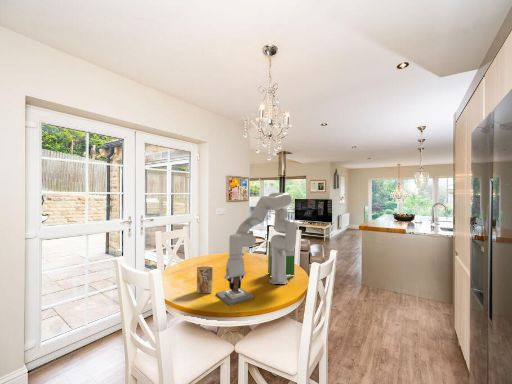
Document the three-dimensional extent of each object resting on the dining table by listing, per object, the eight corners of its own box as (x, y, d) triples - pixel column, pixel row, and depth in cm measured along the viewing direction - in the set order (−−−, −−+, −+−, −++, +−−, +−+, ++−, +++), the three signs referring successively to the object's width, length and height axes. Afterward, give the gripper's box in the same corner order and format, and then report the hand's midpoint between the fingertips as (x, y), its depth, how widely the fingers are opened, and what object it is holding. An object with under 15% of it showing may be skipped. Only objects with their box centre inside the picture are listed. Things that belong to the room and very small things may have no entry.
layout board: (239, 288, 147) (239, 284, 147) (254, 298, 134) (254, 293, 134) (215, 294, 138) (216, 290, 138) (229, 305, 125) (229, 300, 125)
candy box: (212, 290, 144) (213, 265, 144) (211, 293, 140) (212, 267, 140) (197, 290, 144) (198, 265, 144) (196, 293, 139) (197, 267, 139)
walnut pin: (236, 288, 139) (236, 274, 139) (239, 290, 136) (240, 276, 136) (230, 289, 137) (230, 275, 137) (233, 292, 134) (233, 278, 134)
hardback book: (270, 277, 168) (270, 243, 169) (268, 274, 176) (268, 241, 176) (294, 276, 171) (294, 243, 171) (291, 273, 178) (291, 241, 178)
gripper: (244, 253, 144) (244, 283, 144) (219, 256, 135) (218, 289, 135) (251, 255, 138) (250, 287, 138) (225, 259, 129) (225, 294, 128)
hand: (235, 288), depth 136 cm, fingers closed on walnut pin, 4 cm apart
